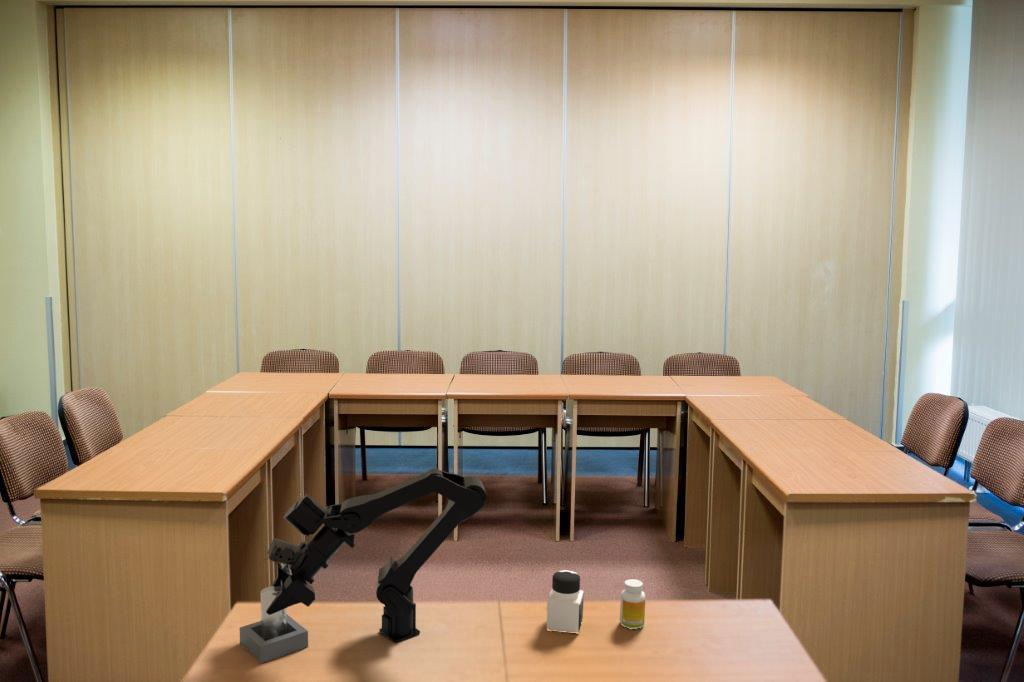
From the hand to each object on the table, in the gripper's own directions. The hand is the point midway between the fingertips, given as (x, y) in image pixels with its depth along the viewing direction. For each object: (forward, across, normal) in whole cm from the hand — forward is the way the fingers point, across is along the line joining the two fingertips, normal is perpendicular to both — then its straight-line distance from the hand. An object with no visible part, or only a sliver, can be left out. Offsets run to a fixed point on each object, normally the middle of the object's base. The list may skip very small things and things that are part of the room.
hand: (266, 607), depth 170 cm
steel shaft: (+4, 0, +6) cm, 7 cm away
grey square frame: (+5, 0, +7) cm, 8 cm away
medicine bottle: (-37, +12, +50) cm, 64 cm away
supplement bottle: (-48, +16, +60) cm, 79 cm away
